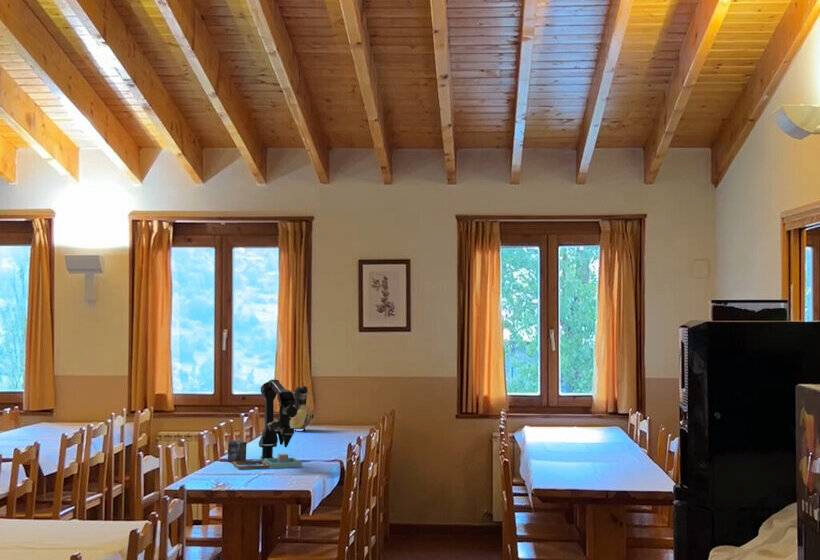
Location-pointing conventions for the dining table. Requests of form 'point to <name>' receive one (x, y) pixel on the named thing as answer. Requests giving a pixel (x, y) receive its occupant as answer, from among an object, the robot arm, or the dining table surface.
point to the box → (236, 451)
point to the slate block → (282, 458)
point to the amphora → (301, 409)
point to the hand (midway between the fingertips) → (283, 446)
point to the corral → (249, 463)
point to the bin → (273, 463)
